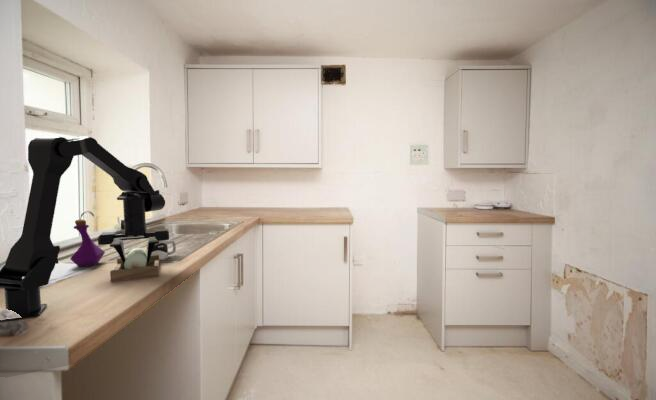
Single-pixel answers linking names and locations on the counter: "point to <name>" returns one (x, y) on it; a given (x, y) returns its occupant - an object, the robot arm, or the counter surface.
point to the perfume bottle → (86, 246)
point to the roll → (136, 258)
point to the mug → (162, 249)
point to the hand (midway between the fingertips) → (136, 263)
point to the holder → (135, 270)
